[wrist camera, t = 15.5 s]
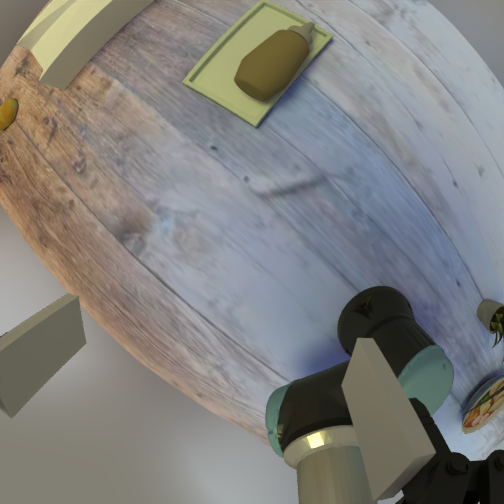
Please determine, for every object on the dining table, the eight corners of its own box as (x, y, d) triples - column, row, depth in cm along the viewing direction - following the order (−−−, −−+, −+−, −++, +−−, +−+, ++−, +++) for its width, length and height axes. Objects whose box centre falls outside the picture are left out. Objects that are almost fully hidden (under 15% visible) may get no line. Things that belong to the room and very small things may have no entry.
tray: (262, 3, 35) (262, -2, 33) (331, 39, 36) (333, 35, 34) (184, 85, 40) (181, 82, 38) (255, 128, 41) (255, 126, 39)
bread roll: (19, 116, 42) (9, 115, 38) (2, 134, 43) (-8, 134, 39) (19, 92, 40) (9, 89, 36) (1, 110, 41) (-8, 109, 37)
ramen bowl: (444, 431, 56) (452, 447, 48) (455, 385, 51) (469, 403, 43) (497, 398, 53) (508, 410, 45) (513, 349, 48) (527, 362, 40)
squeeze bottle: (220, 66, 32) (289, 1, 29) (234, 93, 40) (293, 30, 37) (267, 87, 31) (333, 17, 28) (275, 113, 39) (332, 47, 36)
